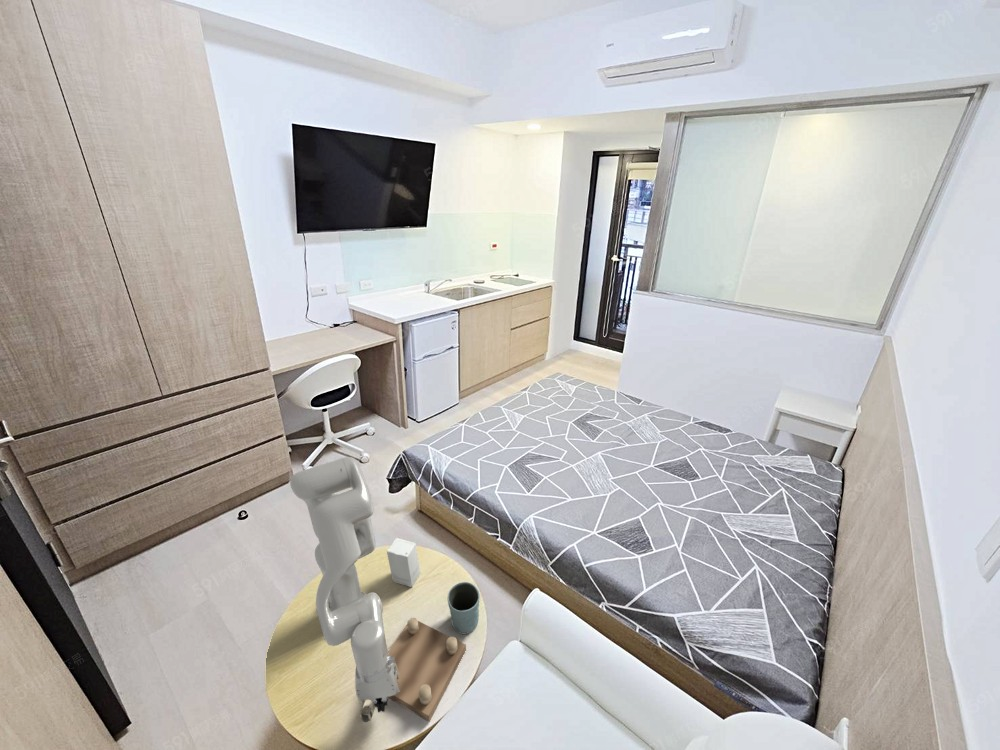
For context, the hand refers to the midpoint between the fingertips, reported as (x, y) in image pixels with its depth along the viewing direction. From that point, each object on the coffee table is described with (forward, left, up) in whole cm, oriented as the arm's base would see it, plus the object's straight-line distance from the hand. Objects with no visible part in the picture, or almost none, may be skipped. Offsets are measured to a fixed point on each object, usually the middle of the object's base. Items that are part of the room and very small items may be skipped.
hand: (382, 705), depth 106 cm
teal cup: (+7, +32, -4) cm, 33 cm away
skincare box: (-20, +37, -4) cm, 42 cm away
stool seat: (+2, +14, -4) cm, 14 cm away
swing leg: (-4, +2, -1) cm, 4 cm away
